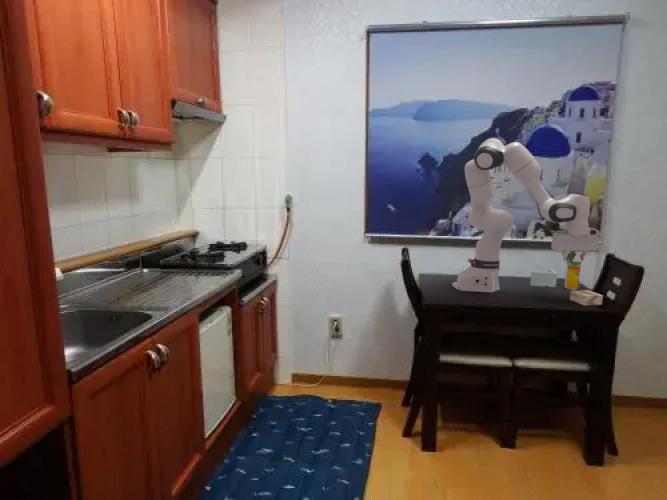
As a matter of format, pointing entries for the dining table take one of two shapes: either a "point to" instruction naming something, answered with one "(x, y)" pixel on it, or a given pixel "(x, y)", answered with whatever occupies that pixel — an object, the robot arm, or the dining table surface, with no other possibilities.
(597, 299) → the oak base block
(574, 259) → the geometric puzzle
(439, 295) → the dining table surface
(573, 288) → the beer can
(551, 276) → the right angle wall
